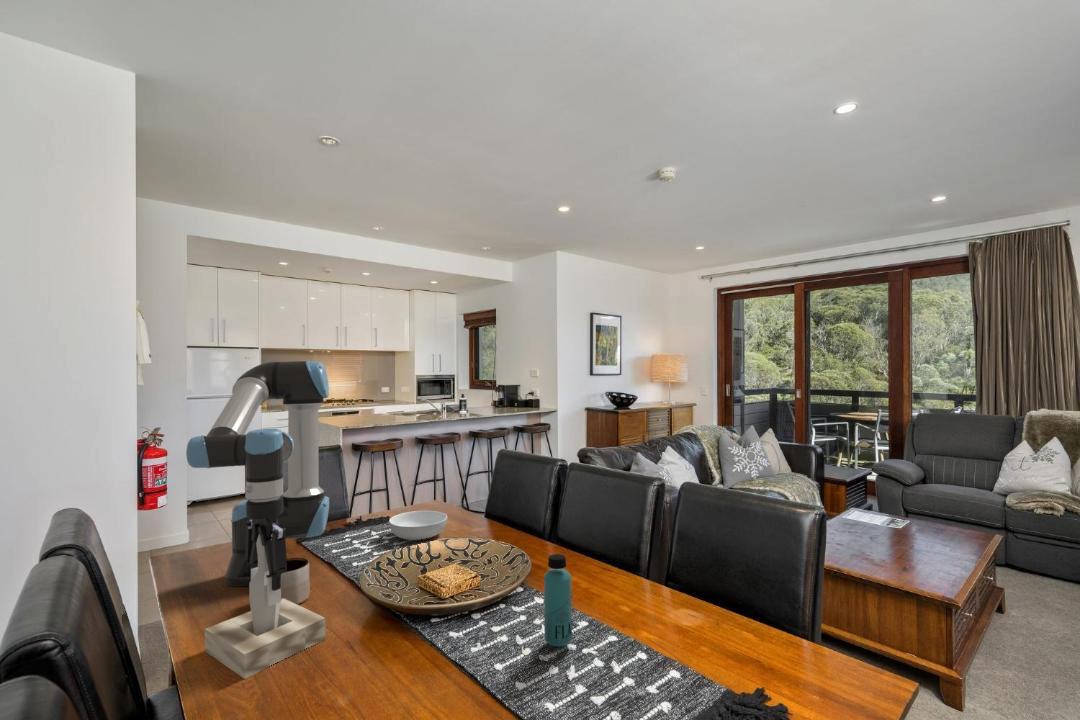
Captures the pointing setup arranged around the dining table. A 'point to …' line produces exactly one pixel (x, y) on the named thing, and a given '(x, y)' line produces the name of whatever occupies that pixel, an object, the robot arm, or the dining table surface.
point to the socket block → (264, 639)
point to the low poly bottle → (262, 596)
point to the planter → (296, 581)
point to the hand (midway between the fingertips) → (265, 599)
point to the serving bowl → (418, 524)
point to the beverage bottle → (557, 602)
